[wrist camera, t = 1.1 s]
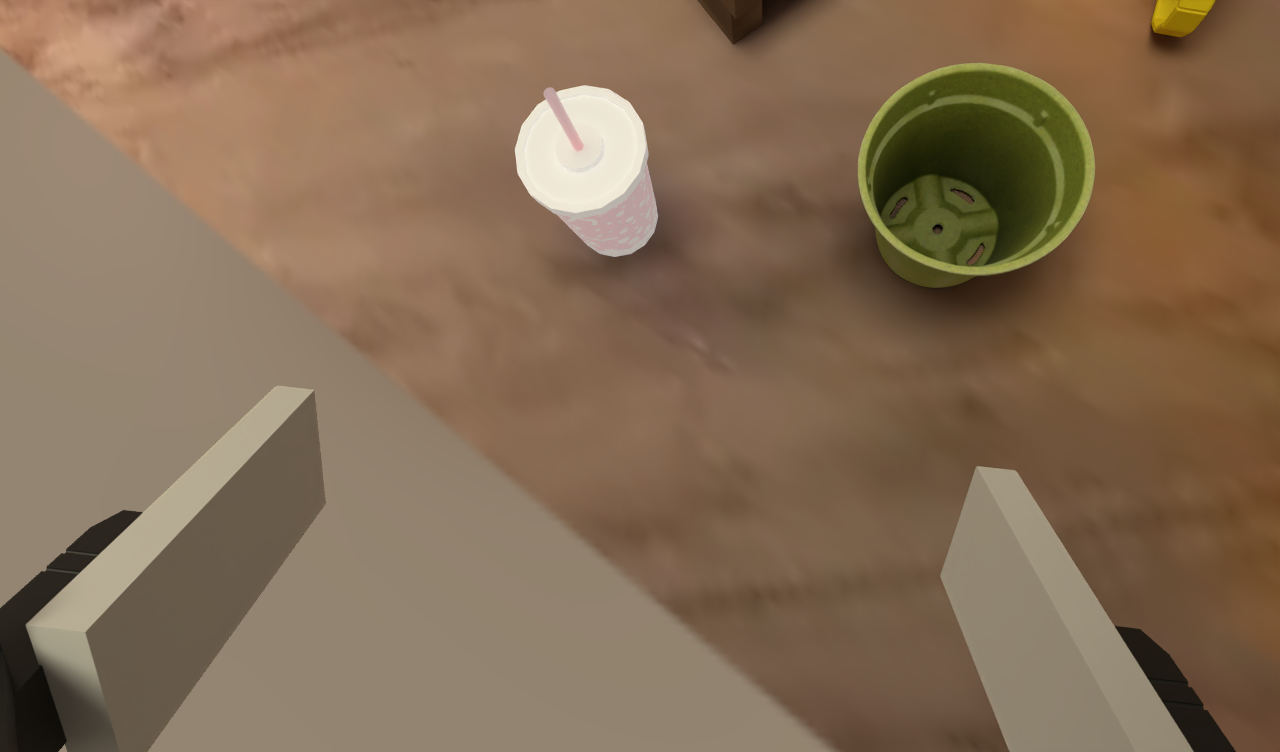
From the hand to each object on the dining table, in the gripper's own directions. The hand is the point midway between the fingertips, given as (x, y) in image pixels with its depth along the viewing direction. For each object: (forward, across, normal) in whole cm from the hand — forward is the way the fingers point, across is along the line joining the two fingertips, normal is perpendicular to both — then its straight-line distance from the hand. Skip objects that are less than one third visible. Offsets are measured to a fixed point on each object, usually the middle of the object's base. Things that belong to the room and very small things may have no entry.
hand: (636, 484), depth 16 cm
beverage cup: (+31, -3, -3) cm, 31 cm away
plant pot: (+29, +14, -2) cm, 32 cm away
